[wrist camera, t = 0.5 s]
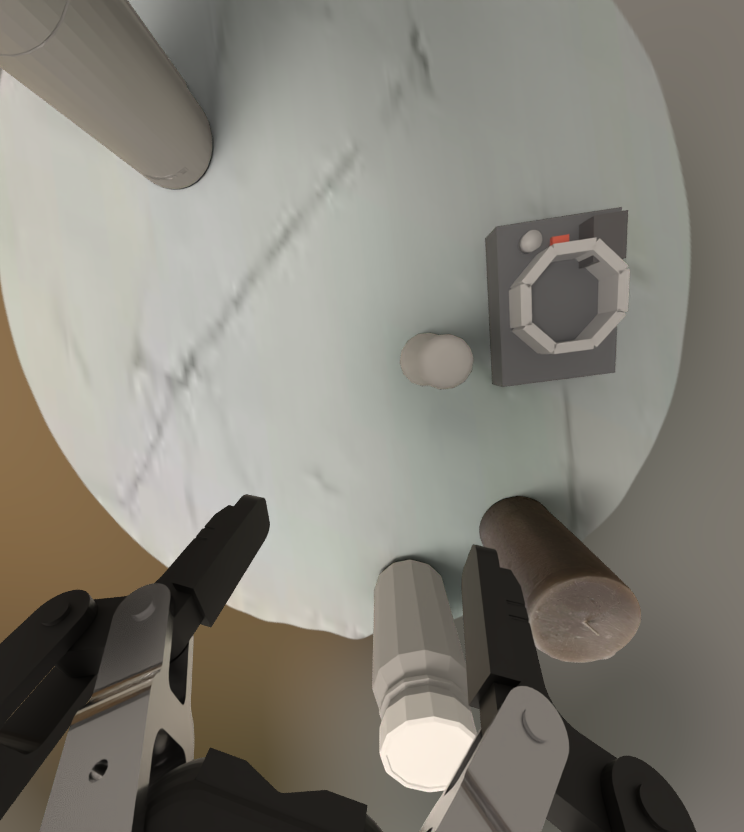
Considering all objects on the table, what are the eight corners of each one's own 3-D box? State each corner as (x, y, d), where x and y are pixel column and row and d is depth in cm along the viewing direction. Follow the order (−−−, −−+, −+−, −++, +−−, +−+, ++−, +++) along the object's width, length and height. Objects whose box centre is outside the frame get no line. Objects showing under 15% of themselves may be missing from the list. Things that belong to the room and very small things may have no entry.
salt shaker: (432, 324, 33) (465, 306, 21) (456, 367, 34) (501, 374, 22) (389, 351, 34) (395, 350, 21) (413, 392, 35) (433, 414, 22)
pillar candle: (522, 481, 37) (612, 565, 23) (566, 531, 38) (680, 641, 24) (463, 526, 39) (512, 631, 24) (508, 572, 40) (580, 699, 26)
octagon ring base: (485, 238, 31) (507, 214, 26) (598, 221, 31) (644, 192, 25) (492, 384, 35) (513, 389, 29) (594, 370, 34) (635, 373, 29)
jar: (395, 622, 42) (406, 813, 25) (361, 572, 41) (348, 738, 23) (455, 596, 41) (512, 776, 23) (423, 542, 39) (459, 695, 22)
